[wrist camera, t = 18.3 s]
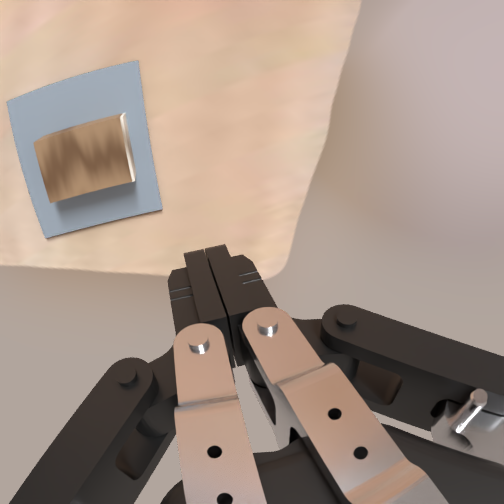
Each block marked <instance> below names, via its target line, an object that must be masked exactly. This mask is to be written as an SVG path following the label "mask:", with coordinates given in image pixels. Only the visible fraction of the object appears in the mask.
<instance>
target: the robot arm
mask: <svg viewBox="0 0 504 504" xmlns="http://www.w3.org/2000/svg"><path fill="white" fill-rule="evenodd" d="M184 258H185V262H186V267H185V268H181V269H176V270H172V272H171V274H170V276H169V279H168V287H169V294H170V299H171V307H172V313H173V319H174V325H175V331H176V338H175V340H174V344H173V346H172V347H171V349H170V350H169V351H168V352H167V353H165V354H164V355H163V356H161V357H159V358H157V359H156V360H154V361H152V362H150V363H147V362H146V361H144V360H142V359H139V358H125V359H122V360H119V361H118V362H116V363H114V364H113V365H112V366H111V367H110V368H109V369H108V370H107V372H106V373H105V374H104V376H103V377H102V378H101V379H100V380H99V382H98V383H97V384H96V386H95V387H94V388H93V389H92V391H91V392H90V394H89V395H88V396H87V397H86V399H85V400H84V401H83V402H82V404H81V405H80V406H79V408H78V409H77V410H76V412H75V413H74V414H73V416H72V417H71V418H70V420H69V421H68V422H67V424H66V425H65V426H64V428H63V429H62V430H61V432H60V433H59V434H58V436H57V437H56V438H55V440H54V441H53V442H52V444H51V445H50V446H49V448H48V449H47V451H46V452H45V453H44V455H43V456H42V457H41V459H40V460H39V462H38V463H37V464H36V466H35V467H34V469H33V470H32V471H31V473H30V474H29V476H28V477H27V478H26V480H25V481H24V483H23V484H22V486H21V487H20V488H19V490H18V491H17V493H16V494H15V496H14V497H13V499H12V500H11V501H10V503H9V504H134V502H135V501H136V499H137V498H138V496H139V494H140V492H141V491H142V489H143V488H144V486H145V485H146V483H147V481H148V480H149V478H150V476H151V474H152V473H153V471H154V470H155V468H156V466H157V465H158V463H159V462H160V460H161V458H162V456H163V455H164V453H165V452H166V450H167V448H168V446H169V445H170V443H171V441H172V440H173V438H174V436H175V435H177V443H178V451H179V458H180V466H181V473H182V480H181V481H180V482H179V483H177V484H176V485H175V486H174V487H173V488H172V489H171V490H170V491H169V492H168V493H167V495H166V496H165V497H164V498H163V500H162V502H161V504H504V356H500V355H497V354H494V353H491V352H488V351H485V350H482V349H479V348H476V347H473V346H470V345H467V344H464V343H461V342H458V341H455V340H452V339H449V338H446V337H443V336H440V335H437V334H434V333H431V332H428V331H425V330H422V329H419V328H416V327H414V326H410V325H408V324H404V323H402V322H399V321H396V320H393V319H390V318H387V317H384V316H382V315H379V314H376V313H373V312H370V311H367V310H364V309H361V308H358V307H356V306H352V305H344V304H343V305H336V306H333V307H331V308H330V309H328V310H327V311H326V312H325V313H324V315H323V317H322V319H311V320H300V319H294V318H291V317H290V316H289V315H288V314H287V313H286V312H285V311H283V310H281V309H279V308H278V307H277V306H276V304H275V302H274V300H273V298H272V297H271V295H270V293H269V291H268V289H267V287H266V286H265V284H264V282H263V280H262V279H261V276H260V275H259V273H258V272H257V269H256V267H255V265H254V264H253V262H252V261H251V260H250V259H248V258H247V257H245V256H244V255H238V256H234V257H231V256H230V254H229V252H228V250H227V247H226V245H225V244H224V245H219V246H214V247H210V248H205V252H204V249H201V250H197V251H192V252H188V253H184ZM233 355H234V356H233ZM234 358H235V361H236V363H237V366H242V365H245V366H246V369H247V371H248V374H249V381H250V385H251V387H252V389H253V391H254V393H255V395H256V398H257V399H258V402H259V404H260V406H261V408H262V410H263V412H264V413H265V415H266V417H267V419H268V421H269V423H270V425H271V427H272V429H273V431H274V434H275V437H276V441H277V444H278V446H279V449H280V450H279V451H274V452H262V453H252V449H251V445H250V442H249V438H248V434H247V430H246V427H245V422H244V418H243V414H242V411H241V406H240V402H239V398H238V396H237V392H236V388H235V380H234V374H233V370H232V368H235V361H234ZM371 410H372V411H374V412H377V413H380V414H382V415H385V416H387V417H390V418H393V419H396V420H398V421H401V422H404V423H407V424H410V425H412V426H415V427H418V428H421V429H424V430H427V431H431V434H432V437H433V442H432V441H429V440H426V439H424V438H421V437H418V436H415V435H413V434H410V433H408V432H405V431H403V430H400V429H398V428H395V427H393V426H390V425H386V424H382V423H380V422H379V421H378V419H377V418H376V417H375V415H374V414H373V413H372V411H371Z"/></svg>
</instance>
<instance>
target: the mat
mask: <svg viewBox="0 0 504 504" xmlns="http://www.w3.org/2000/svg"><path fill="white" fill-rule="evenodd" d="M7 106H8V112H9V117H10V122H11V127H12V131H13V136H14V140H15V144H16V148H17V152H18V156H19V160H20V164H21V167H22V171H23V174H24V178H25V181H26V184H27V188H28V191H29V194H30V197H31V200H32V203H33V206H34V209H35V212H36V215H37V217H38V220H39V223H40V226H41V228H42V231H43V234H44V236H45V238H49V237H52V236H56V235H59V234H63V233H67V232H71V231H74V230H78V229H82V228H86V227H90V226H94V225H98V224H102V223H106V222H110V221H114V220H118V219H122V218H126V217H130V216H135V215H139V214H143V213H148V212H152V211H157V210H161V209H163V208H162V203H161V198H160V193H159V188H158V183H157V178H156V173H155V167H154V162H153V156H152V151H151V145H150V139H149V133H148V127H147V120H146V114H145V107H144V100H143V93H142V86H141V78H140V70H139V61H133V62H128V63H124V64H119V65H115V66H111V67H107V68H103V69H99V70H96V71H92V72H88V73H85V74H82V75H78V76H75V77H72V78H69V79H65V80H62V81H59V82H56V83H53V84H51V85H48V86H45V87H42V88H39V89H37V90H34V91H32V92H29V93H26V94H24V95H21V96H19V97H17V98H14V99H12V100H10V101H7ZM121 113H126V118H127V124H128V130H129V136H130V141H131V147H132V152H133V157H134V162H135V167H136V177H135V181H133V182H129V183H125V184H121V185H117V186H112V187H108V188H104V189H100V190H97V191H93V192H89V193H85V194H81V195H78V196H74V197H71V198H67V199H63V200H60V201H57V202H53V203H50V202H49V198H48V195H47V192H46V189H45V185H44V182H43V178H42V175H41V171H40V168H39V164H38V160H37V156H36V152H35V148H34V144H33V143H34V142H35V141H37V140H38V139H40V138H41V137H43V136H45V135H48V134H51V133H54V132H57V131H60V130H63V129H66V128H69V127H73V126H76V125H80V124H83V123H87V122H90V121H94V120H97V119H101V118H105V117H109V116H113V115H117V114H121Z"/></svg>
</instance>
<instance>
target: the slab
mask: <svg viewBox="0 0 504 504" xmlns="http://www.w3.org/2000/svg"><path fill="white" fill-rule="evenodd" d="M33 144H34V148H35V152H36V156H37V160H38V164H39V168H40V171H41V175H42V178H43V182H44V185H45V189H46V192H47V195H48V198H49V202H50V203H53V202H57V201H60V200H63V199H67V198H71V197H74V196H78V195H81V194H85V193H89V192H93V191H97V190H100V189H104V188H108V187H112V186H117V185H121V184H125V183H129V182H133V181H135V177H136V167H135V162H134V157H133V152H132V147H131V141H130V136H129V130H128V124H127V118H126V113H121V114H117V115H113V116H109V117H105V118H101V119H97V120H94V121H90V122H87V123H83V124H80V125H76V126H73V127H69V128H66V129H63V130H60V131H57V132H54V133H51V134H48V135H45V136H43V137H41V138H40V139H38V140H37V141H35V142H34V143H33Z"/></svg>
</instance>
